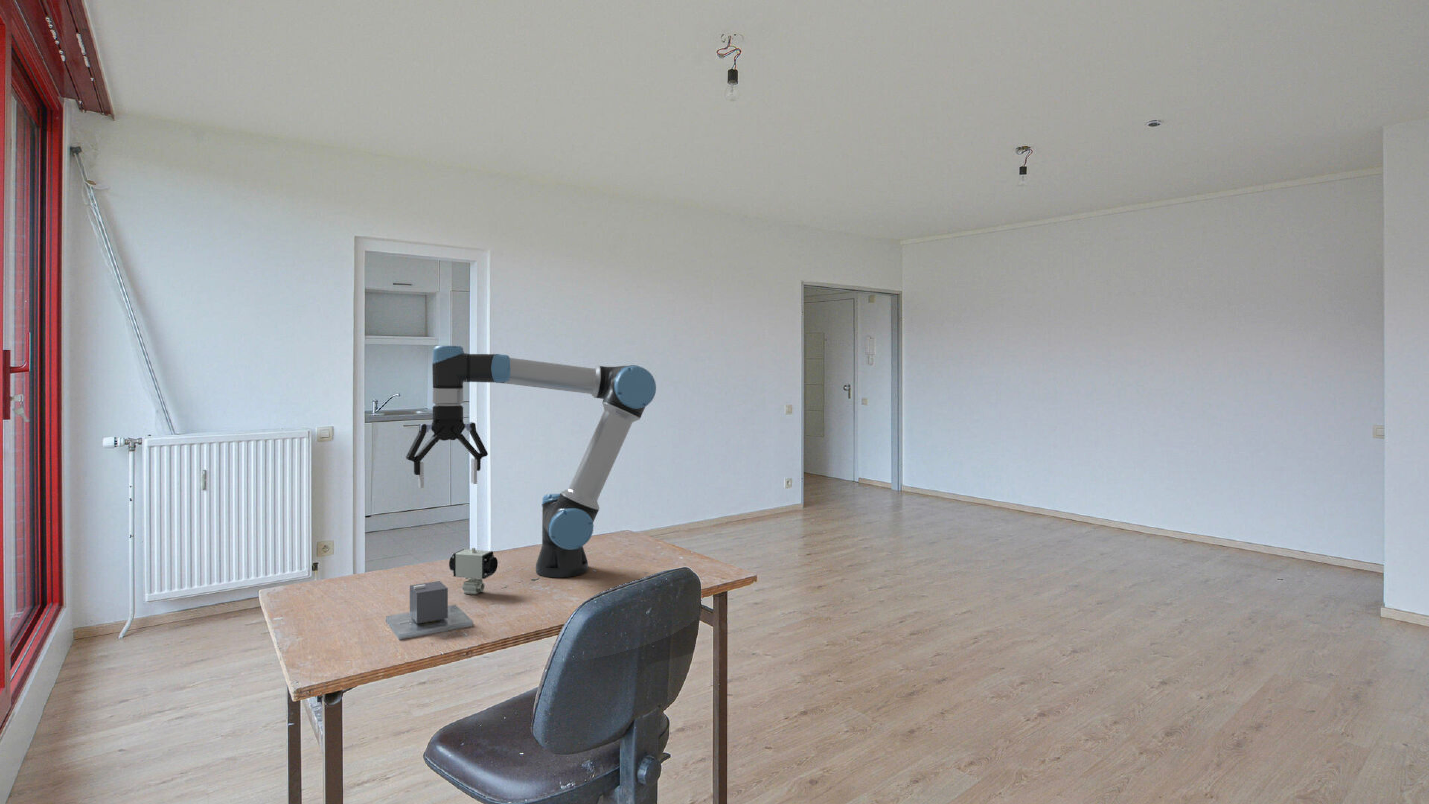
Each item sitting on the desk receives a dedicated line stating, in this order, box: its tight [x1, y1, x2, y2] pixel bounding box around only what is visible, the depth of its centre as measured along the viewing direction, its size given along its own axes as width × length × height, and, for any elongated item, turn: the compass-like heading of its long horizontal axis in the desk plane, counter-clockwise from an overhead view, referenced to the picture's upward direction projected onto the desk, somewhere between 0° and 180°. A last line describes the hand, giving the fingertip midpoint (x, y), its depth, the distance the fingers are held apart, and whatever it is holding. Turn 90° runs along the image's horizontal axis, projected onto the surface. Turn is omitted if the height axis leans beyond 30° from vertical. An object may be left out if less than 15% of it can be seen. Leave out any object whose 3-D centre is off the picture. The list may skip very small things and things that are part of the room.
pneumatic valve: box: [448, 547, 499, 596], centre depth 193 cm, size 6×12×12 cm, turn 78°
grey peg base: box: [385, 603, 474, 641], centre depth 170 cm, size 16×14×7 cm
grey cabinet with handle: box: [409, 580, 449, 623], centre depth 170 cm, size 7×7×8 cm
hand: (447, 485), depth 191 cm, fingers open, 13 cm apart
